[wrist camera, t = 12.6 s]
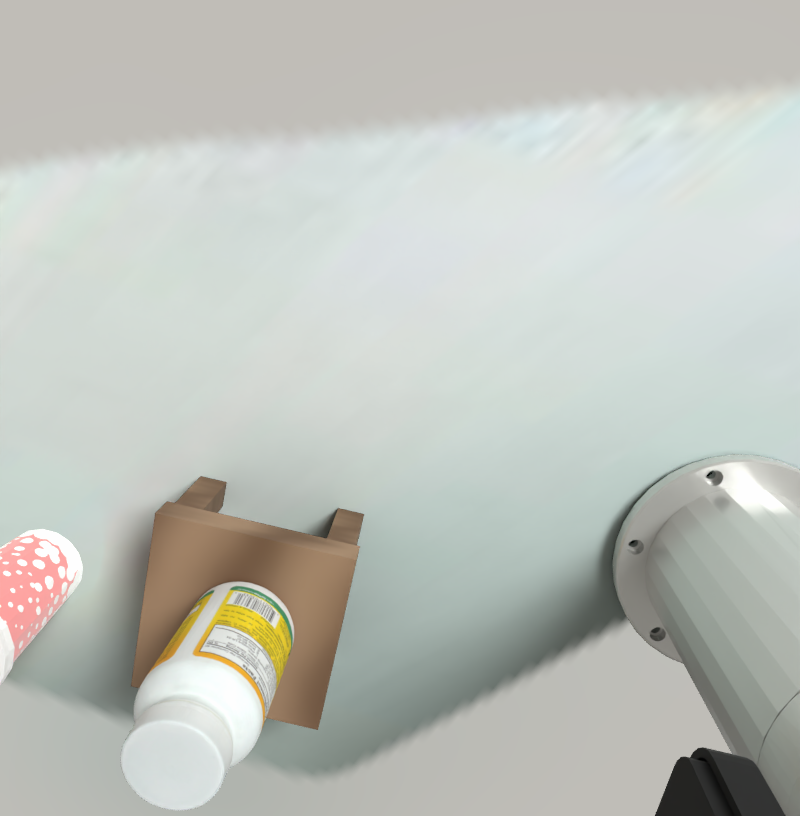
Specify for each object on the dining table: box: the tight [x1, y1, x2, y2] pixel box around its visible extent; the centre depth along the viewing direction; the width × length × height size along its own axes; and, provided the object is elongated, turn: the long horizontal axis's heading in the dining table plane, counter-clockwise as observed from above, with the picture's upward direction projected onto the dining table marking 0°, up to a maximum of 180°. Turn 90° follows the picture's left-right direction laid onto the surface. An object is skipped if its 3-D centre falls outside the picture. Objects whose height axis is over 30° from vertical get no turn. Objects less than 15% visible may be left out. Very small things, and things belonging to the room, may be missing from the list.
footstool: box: [131, 476, 364, 730], centre depth 39 cm, size 10×10×6 cm
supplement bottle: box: [120, 582, 294, 810], centre depth 31 cm, size 5×5×10 cm
